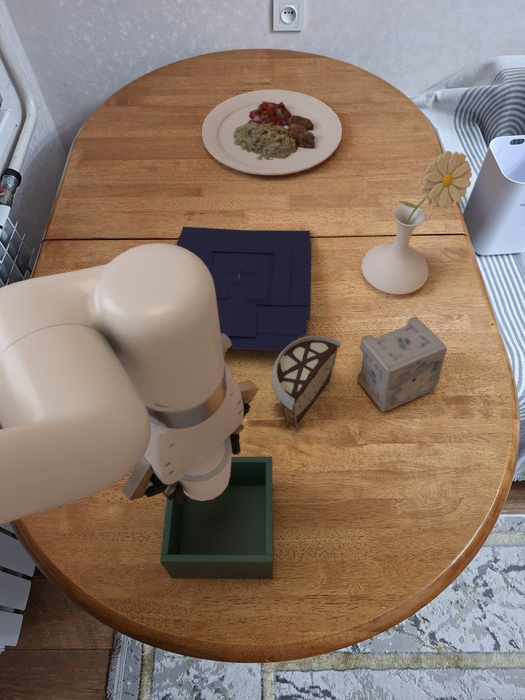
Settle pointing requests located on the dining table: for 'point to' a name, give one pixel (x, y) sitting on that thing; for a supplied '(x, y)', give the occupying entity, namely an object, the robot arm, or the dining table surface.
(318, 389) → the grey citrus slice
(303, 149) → the plated food
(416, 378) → the incense holder
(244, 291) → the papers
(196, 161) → the dining table surface
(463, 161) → the flower in vase
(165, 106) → the dining table surface
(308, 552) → the dining table surface
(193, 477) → the light grey rounded piece
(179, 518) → the open square box
